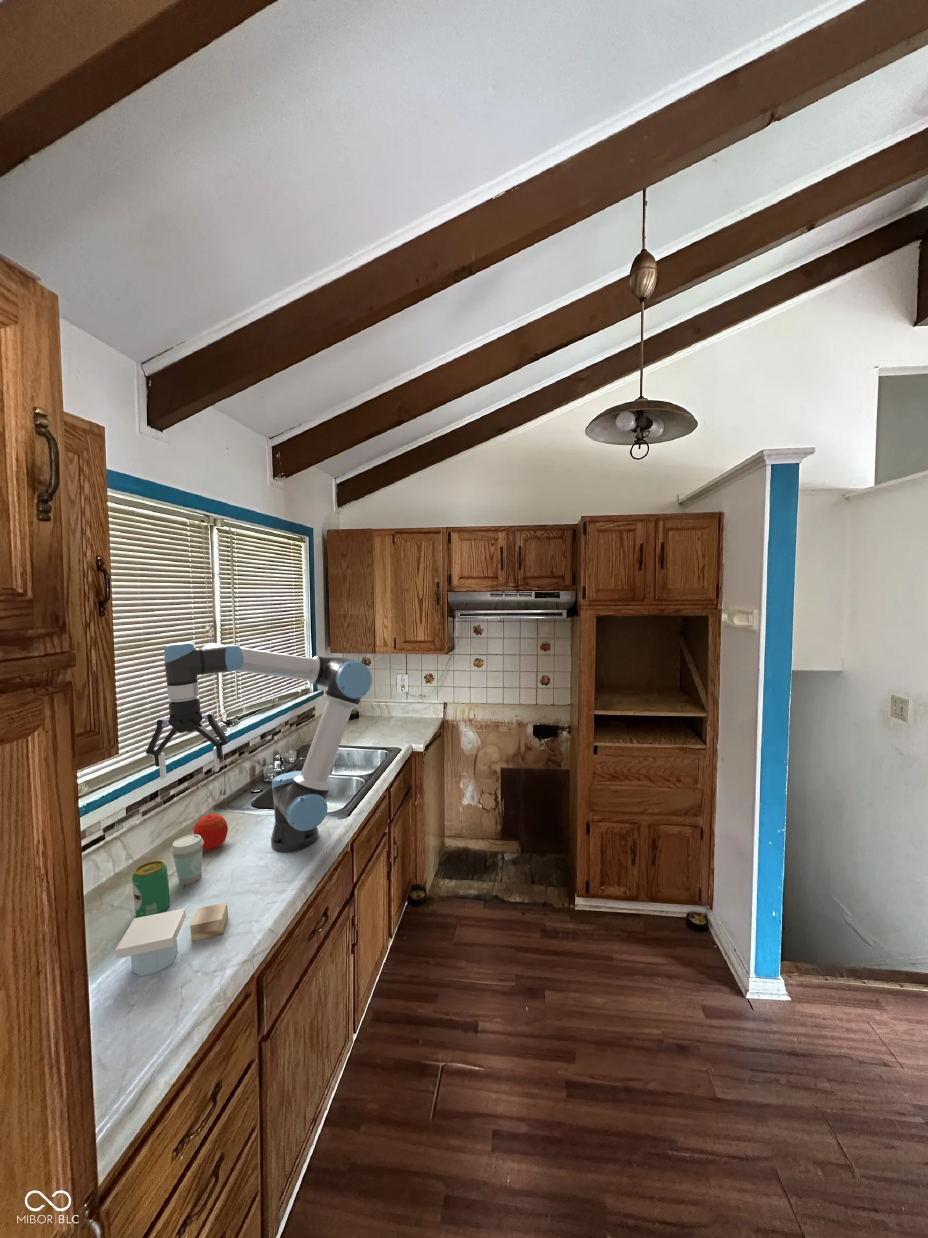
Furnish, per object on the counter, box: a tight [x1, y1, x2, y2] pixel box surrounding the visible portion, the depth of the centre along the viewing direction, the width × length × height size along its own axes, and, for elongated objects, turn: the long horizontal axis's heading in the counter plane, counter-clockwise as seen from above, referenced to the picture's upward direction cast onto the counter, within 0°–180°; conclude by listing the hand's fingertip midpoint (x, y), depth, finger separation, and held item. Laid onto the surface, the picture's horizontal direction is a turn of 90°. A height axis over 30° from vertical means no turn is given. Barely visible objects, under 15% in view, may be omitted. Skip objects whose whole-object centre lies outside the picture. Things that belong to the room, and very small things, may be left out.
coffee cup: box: [170, 833, 204, 886], centre depth 149 cm, size 8×8×12 cm
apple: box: [193, 813, 229, 852], centre depth 168 cm, size 10×10×12 cm
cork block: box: [189, 902, 229, 942], centre depth 126 cm, size 7×7×4 cm
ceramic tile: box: [115, 908, 187, 959], centre depth 115 cm, size 11×11×2 cm
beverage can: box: [131, 859, 171, 918], centre depth 135 cm, size 8×8×12 cm
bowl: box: [130, 937, 179, 977], centre depth 115 cm, size 8×8×6 cm
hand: (190, 773), depth 140 cm, fingers open, 13 cm apart
